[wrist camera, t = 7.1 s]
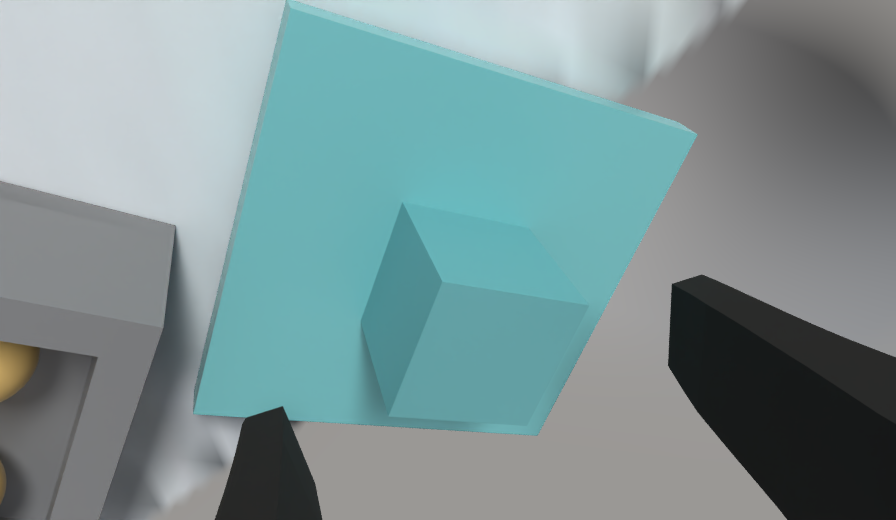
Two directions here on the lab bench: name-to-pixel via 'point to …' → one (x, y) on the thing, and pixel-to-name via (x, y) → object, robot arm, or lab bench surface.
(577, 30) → the lab bench surface
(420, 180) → the lid
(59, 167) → the lab bench surface
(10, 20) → the lab bench surface
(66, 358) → the box
